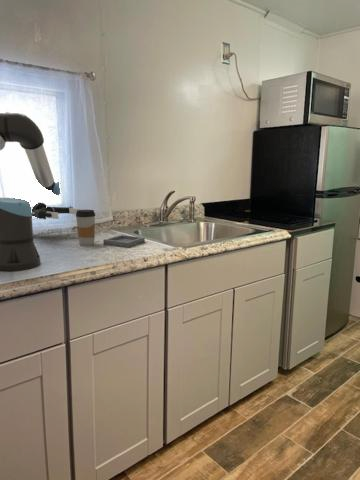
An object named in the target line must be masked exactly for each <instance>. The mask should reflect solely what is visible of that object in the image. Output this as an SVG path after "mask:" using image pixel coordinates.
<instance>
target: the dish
mask: <svg viewBox="0 0 360 480" xmlns="http://www.w3.org/2000/svg"><path fill="white" fill-rule="evenodd" d="M145 239H146V238H145V237H143V236H134V235H126V234H125V235H124V234H121V235H117V236H111V237H108V238H104V239H103V245H105V246H112V247H119V248H126V249H128V248H132V247H135V246H137V245H140V244H144V243H145V242H146V241H145Z"/></svg>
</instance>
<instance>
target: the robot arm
mask: <svg viewBox="0 0 360 480" xmlns="http://www.w3.org/2000/svg"><path fill="white" fill-rule="evenodd" d="M43 135H44V134H43V133H42V131H41V129H40V128H39V126H38V125H37V123H35V122H34V120H32V119H31V118H30V117H28V116H27V115H26V114H24V113H22V112H19V111H16V110H0V151H2V150H4V148H5V147H6V143H19V145H20V147H21V148H22V149H24V151H25V154H26V156H27V159H28V161H29V164H30V167H31V169H32V172H33V174H34V177H35V180H36V179H37V180H38V182H39V183H40V184H41V185H42V186H43V187H45V188H46V189H48V190H52V192H53V193H54V194H56V195H58V196H60V195H61V193H60V188H59V182H57V183H55V182H54V180H55V179H54V175H53V173H52V170H51V166H50V163H49V160H48V156H47V154H46V150H45V147H44V143H45V142H44V141H45V139H44V136H43ZM59 194H60V195H59ZM46 206H47V204H46V203H44V202H38V204H36V205H35V206H34V207H33V209H32V213H31V207H30V204H29V202H27V201H25V200H21V199H15V198H13V197H0V271H2V272H12V271H13V272H17V271H23V270H29V269H33V268H36V267H38V266H39V265H41V256H40V255H39V252H38V250H37V247H36V245H35V242H34V232H33V219H32V216H35V217H37V218H36V219H38V218H39V219H40V220H47V219H54V220H59V214H69V215H76V213H77V210H82V209H81V208H75V207H73V206H71V205H70V206H69V207H68V206H64V207H63V206H61V207H60V206H58V207H57V206H47V208H46Z"/></svg>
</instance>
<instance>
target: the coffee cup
mask: <svg viewBox="0 0 360 480" xmlns="http://www.w3.org/2000/svg"><path fill="white" fill-rule="evenodd" d="M75 217H76V218H75V219H76V227H77V235H78V236H77V237H78V242H79V243H78V244H79V245H80V246H83V247H90V246H93V245H94V244H95V234H96V233H95V230H96V224H95V223H96V213H95V210H94V209H81V210H77V213H76V214H75Z"/></svg>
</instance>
